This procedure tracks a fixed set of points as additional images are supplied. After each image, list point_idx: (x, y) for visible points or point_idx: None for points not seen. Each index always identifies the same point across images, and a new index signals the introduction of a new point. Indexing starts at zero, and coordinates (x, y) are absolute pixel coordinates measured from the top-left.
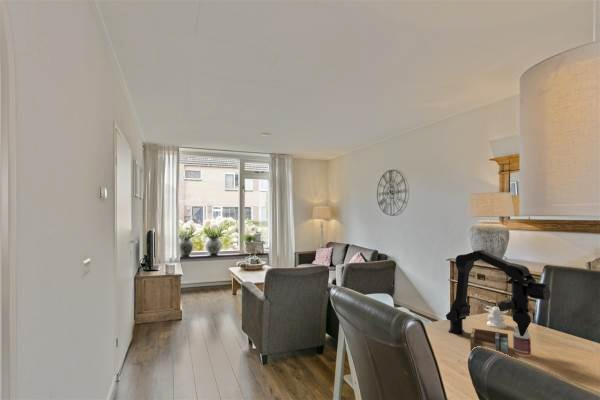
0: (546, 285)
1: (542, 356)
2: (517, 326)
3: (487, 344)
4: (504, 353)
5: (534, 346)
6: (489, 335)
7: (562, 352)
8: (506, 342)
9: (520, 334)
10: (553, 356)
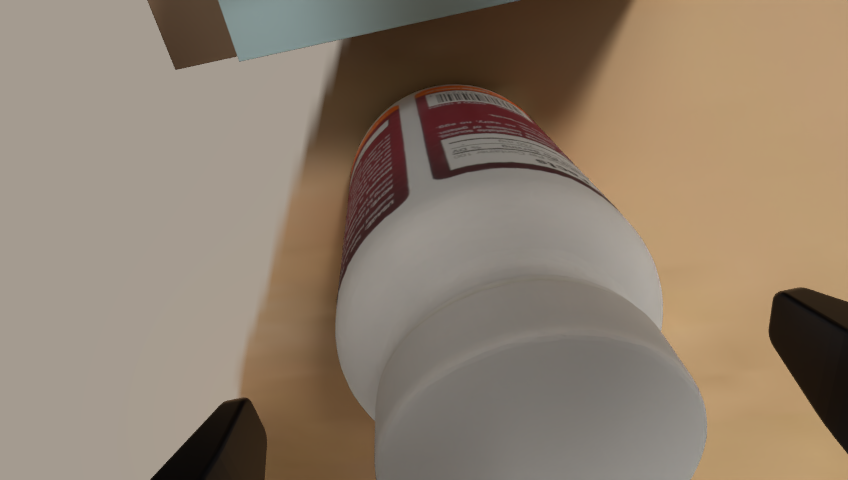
0: None
1: None
2: (634, 376)
3: None
4: (156, 11)
5: (829, 234)
6: None
7: (756, 432)
8: (366, 13)
9: (208, 432)
10: None
